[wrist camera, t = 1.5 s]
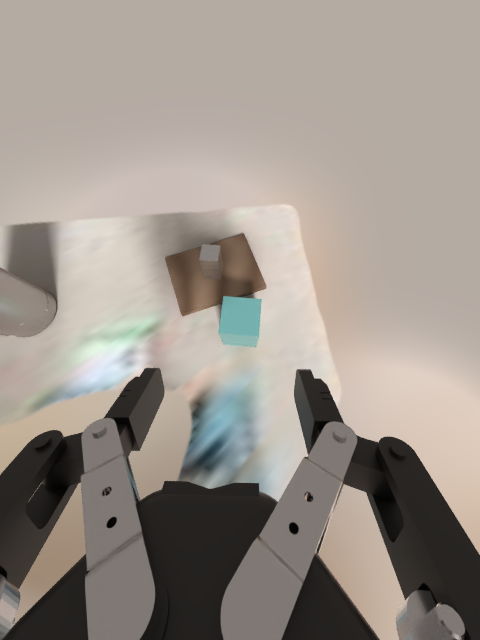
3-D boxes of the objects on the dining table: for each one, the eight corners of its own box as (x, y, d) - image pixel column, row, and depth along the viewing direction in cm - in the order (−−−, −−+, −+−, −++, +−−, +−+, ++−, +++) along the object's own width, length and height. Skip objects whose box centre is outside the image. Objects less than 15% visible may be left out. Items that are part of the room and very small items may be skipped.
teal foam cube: (223, 344, 39) (218, 332, 32) (227, 313, 41) (223, 296, 33) (255, 347, 39) (258, 336, 31) (258, 316, 41) (261, 299, 33)
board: (182, 316, 41) (181, 313, 40) (166, 261, 44) (164, 257, 43) (265, 288, 42) (266, 285, 41) (243, 237, 46) (243, 233, 45)
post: (205, 278, 42) (199, 260, 36) (207, 263, 43) (201, 244, 37) (221, 279, 42) (217, 261, 36) (223, 265, 43) (220, 245, 37)
